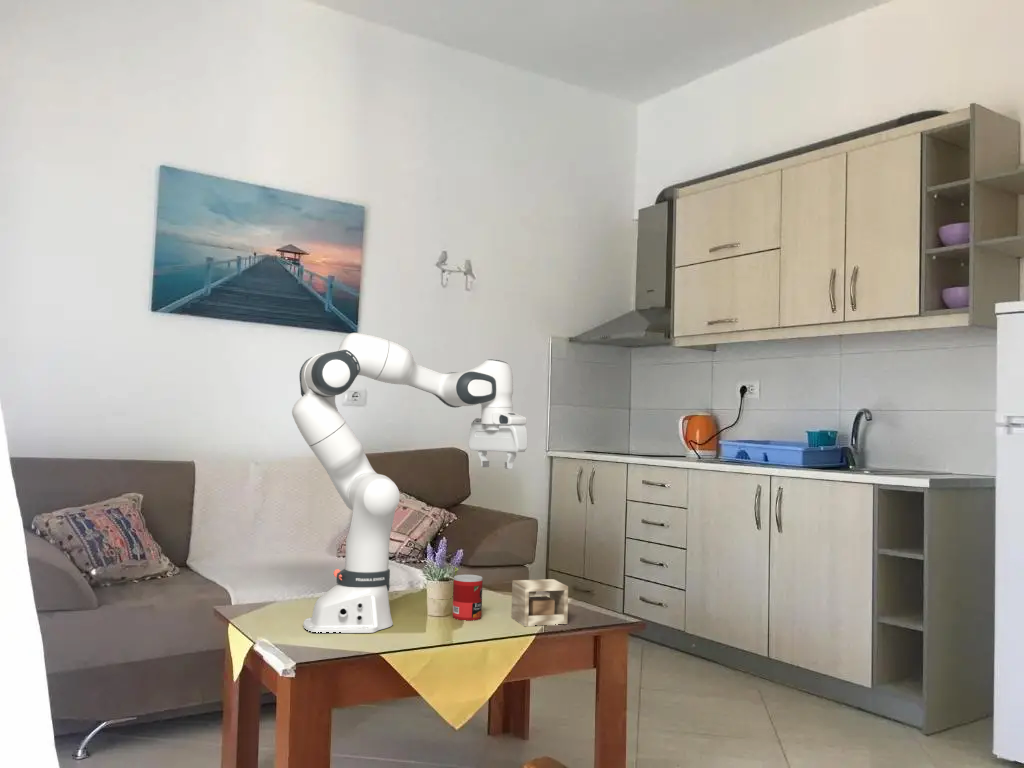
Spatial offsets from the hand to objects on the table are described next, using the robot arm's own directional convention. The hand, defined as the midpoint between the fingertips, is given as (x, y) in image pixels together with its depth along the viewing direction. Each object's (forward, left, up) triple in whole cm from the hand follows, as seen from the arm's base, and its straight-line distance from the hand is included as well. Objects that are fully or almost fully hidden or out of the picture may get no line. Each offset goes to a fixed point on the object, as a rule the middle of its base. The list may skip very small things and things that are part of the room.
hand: (496, 467), depth 237 cm
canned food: (-8, -2, -41) cm, 41 cm away
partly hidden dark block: (+10, -3, -40) cm, 42 cm away
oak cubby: (+10, -9, -40) cm, 43 cm away
